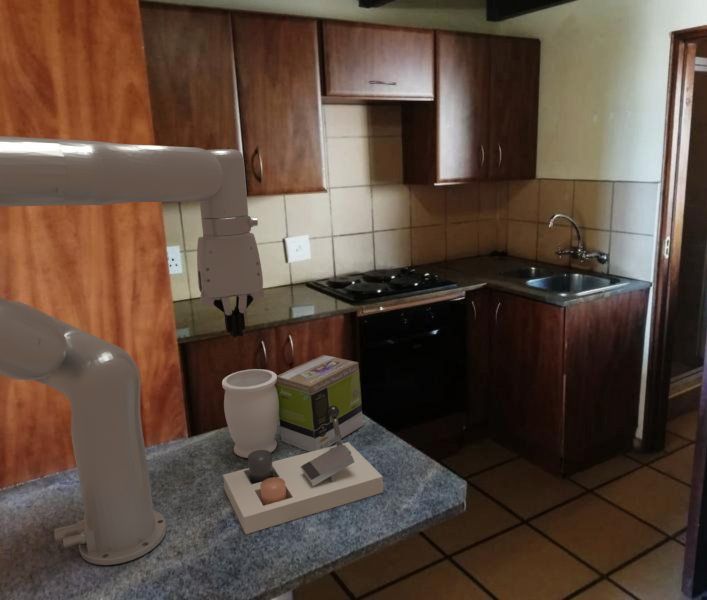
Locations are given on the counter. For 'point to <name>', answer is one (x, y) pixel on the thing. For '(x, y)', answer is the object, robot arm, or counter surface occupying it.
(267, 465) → the black button
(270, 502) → the terracotta button
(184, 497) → the counter surface
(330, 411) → the toggle lever
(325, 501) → the panel
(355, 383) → the tea box
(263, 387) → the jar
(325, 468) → the rocker
